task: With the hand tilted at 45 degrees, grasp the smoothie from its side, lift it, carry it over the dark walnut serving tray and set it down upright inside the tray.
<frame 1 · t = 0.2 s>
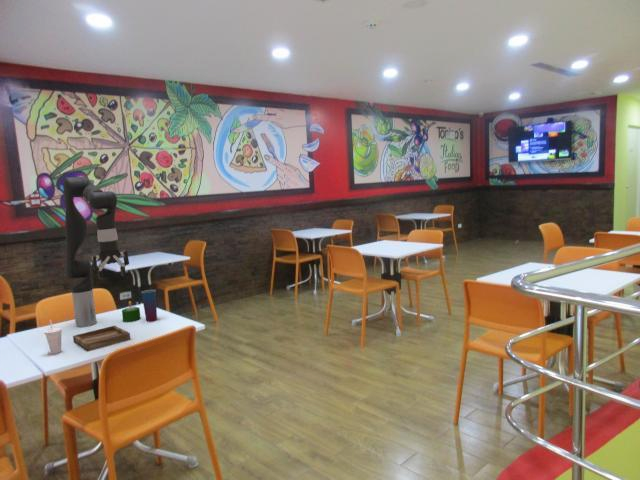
hand: (112, 277, 192), 29 cm above the table, tool pointing down, fingers open, 8 cm apart
smoothie: (56, 352, 190), on the table
cup: (151, 320, 229), on the table
candle: (131, 320, 232), on the table
tray: (102, 340, 201), on the table
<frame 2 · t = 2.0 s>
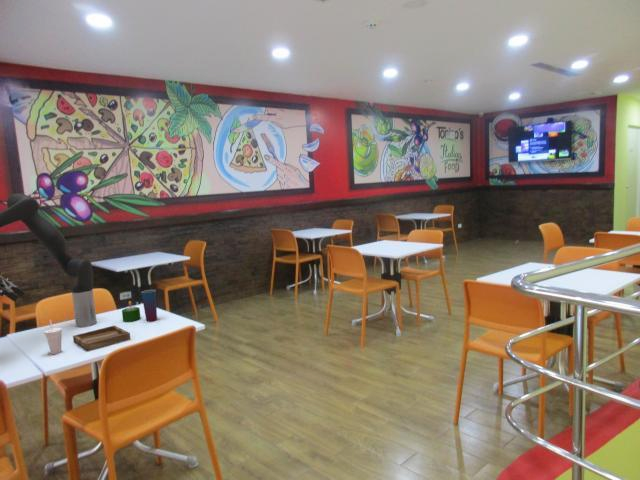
hand: (20, 297, 184), 25 cm above the table, tool tilted 45°, fingers open, 8 cm apart
nothing on the table moved.
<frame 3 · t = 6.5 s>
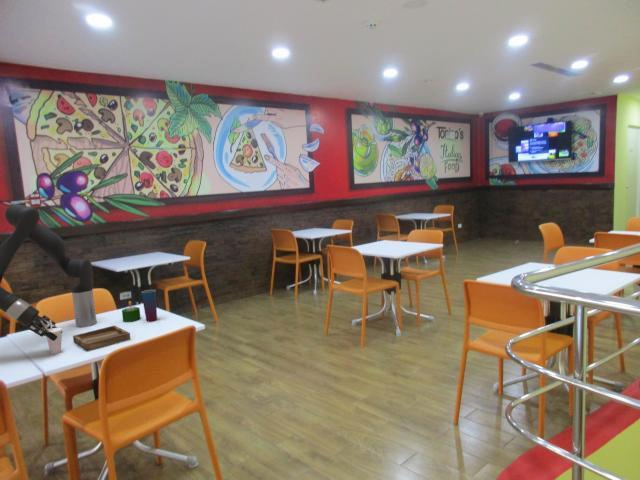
hand: (58, 336, 189), 7 cm above the table, tool tilted 45°, fingers closed on smoothie, 6 cm apart
smoothie: (56, 352, 190), on the table, touching gripper
everything else where it was.
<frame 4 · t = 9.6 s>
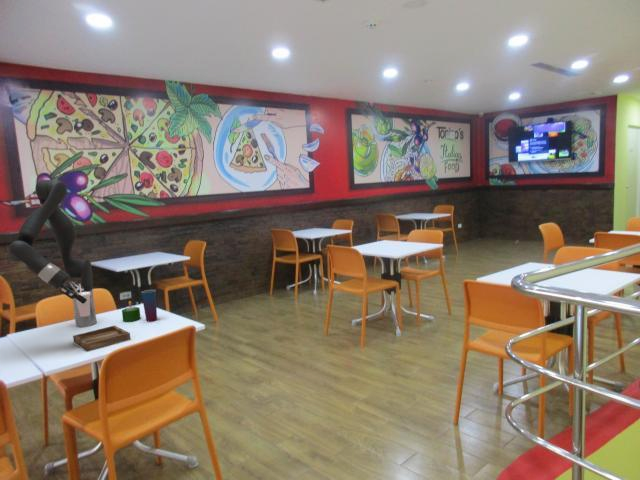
hand: (87, 299, 196), 20 cm above the table, tool tilted 45°, fingers closed on smoothie, 6 cm apart
smoothie: (85, 315, 197), point 13 cm above the table, touching gripper
everything else where it was.
when the fingers open (9 cm above the table, at t = 12.7 s): smoothie drops 1 cm, resting on tray.
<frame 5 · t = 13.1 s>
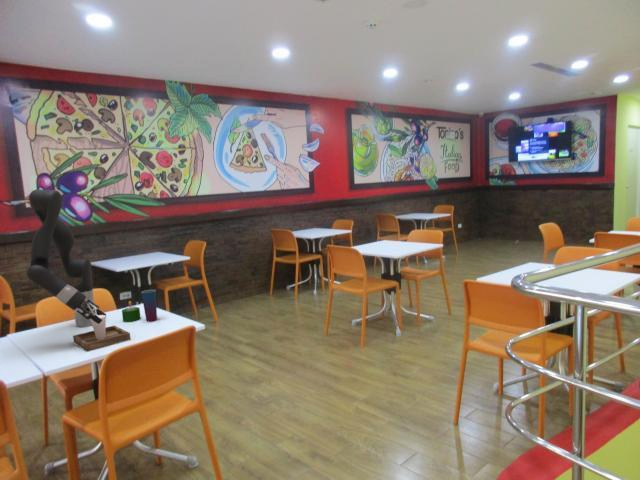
hand: (102, 319, 200), 10 cm above the table, tool tilted 45°, fingers open, 8 cm apart
smoothie: (101, 338, 201), point 1 cm above the table, touching tray
everything else where it was.
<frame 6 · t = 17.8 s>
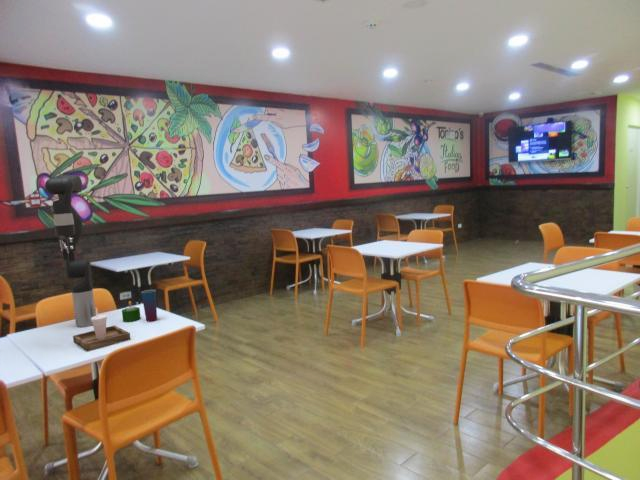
hand: (68, 260, 201), 36 cm above the table, tool pointing down, fingers open, 8 cm apart
nothing on the table moved.
at the end: smoothie inside the target area on the tray (0.2 cm from its centre), point 1.0 cm above the tray's base; smoothie tilted 0°; the gripper is holding nothing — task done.
